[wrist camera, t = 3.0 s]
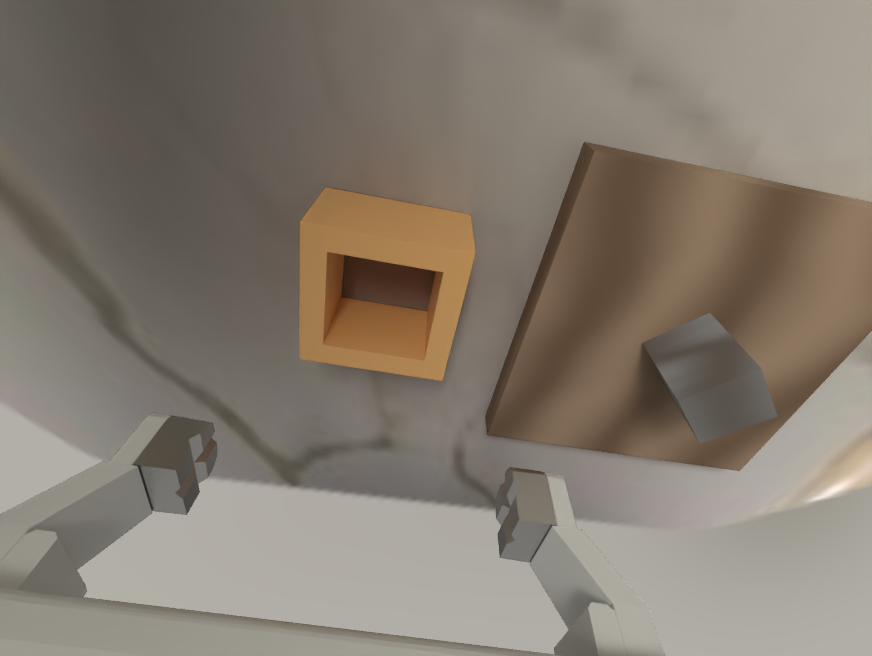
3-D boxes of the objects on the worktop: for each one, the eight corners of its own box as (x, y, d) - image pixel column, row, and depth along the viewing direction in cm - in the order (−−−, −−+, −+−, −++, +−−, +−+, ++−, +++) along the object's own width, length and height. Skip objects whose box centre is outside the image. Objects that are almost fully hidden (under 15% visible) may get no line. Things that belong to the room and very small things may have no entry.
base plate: (485, 416, 26) (493, 496, 22) (584, 142, 17) (633, 182, 13) (726, 451, 28) (780, 533, 23) (933, 215, 19) (1088, 274, 14)
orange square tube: (320, 310, 22) (299, 359, 19) (325, 187, 19) (299, 221, 15) (442, 330, 23) (442, 381, 19) (470, 214, 19) (475, 253, 16)
